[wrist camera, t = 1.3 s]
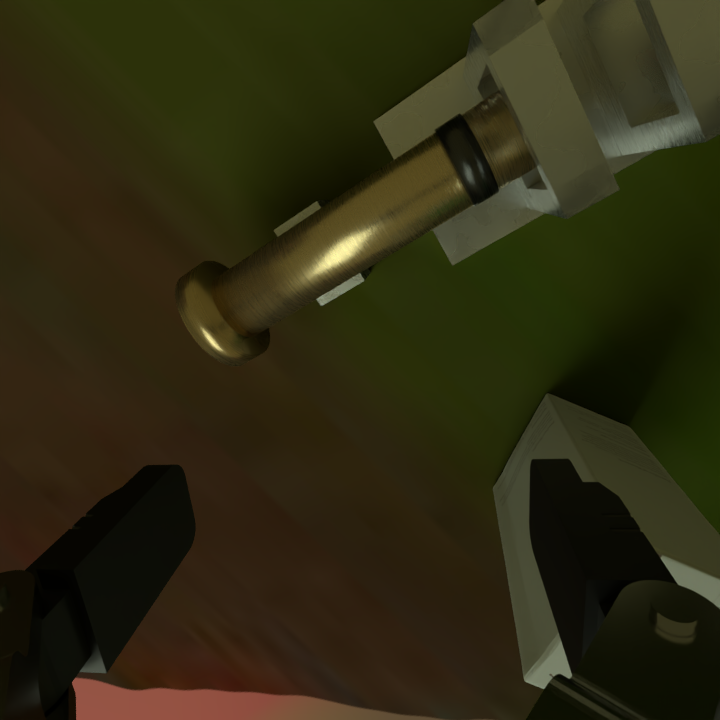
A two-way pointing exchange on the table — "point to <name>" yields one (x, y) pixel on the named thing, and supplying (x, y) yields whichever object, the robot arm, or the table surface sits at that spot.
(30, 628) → the robot arm
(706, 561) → the skincare box
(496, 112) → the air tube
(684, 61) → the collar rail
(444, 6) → the table surface
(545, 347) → the table surface
